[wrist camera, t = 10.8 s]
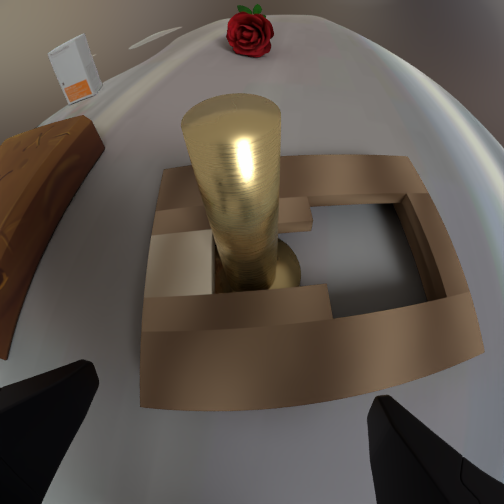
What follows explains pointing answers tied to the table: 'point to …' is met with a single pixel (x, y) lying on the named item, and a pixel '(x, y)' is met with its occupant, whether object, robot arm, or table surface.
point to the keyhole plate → (295, 301)
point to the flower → (250, 32)
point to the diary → (37, 202)
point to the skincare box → (75, 69)
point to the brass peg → (241, 190)
